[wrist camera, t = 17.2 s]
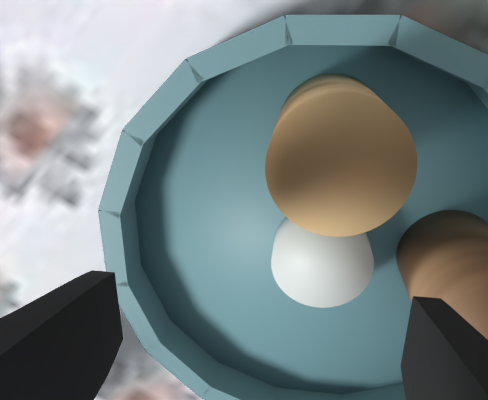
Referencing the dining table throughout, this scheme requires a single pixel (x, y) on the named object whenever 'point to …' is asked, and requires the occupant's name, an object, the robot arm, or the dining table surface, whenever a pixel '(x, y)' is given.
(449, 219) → the brown wooden peg
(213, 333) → the ring tray
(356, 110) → the oak bead
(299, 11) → the dining table surface
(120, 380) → the dining table surface
